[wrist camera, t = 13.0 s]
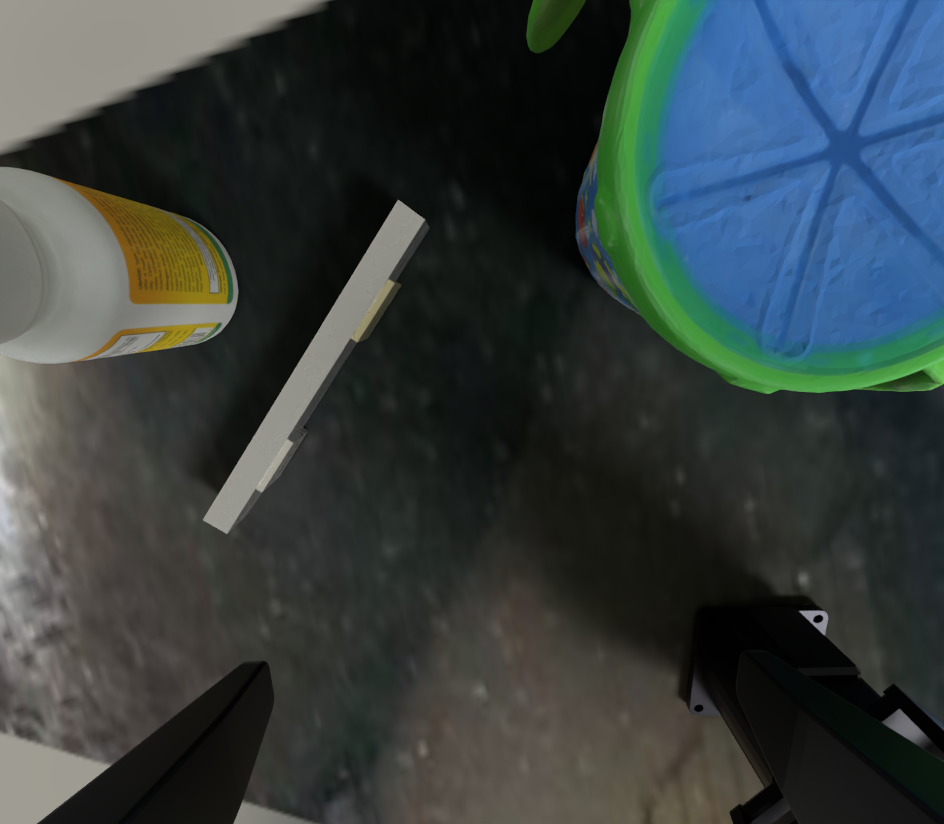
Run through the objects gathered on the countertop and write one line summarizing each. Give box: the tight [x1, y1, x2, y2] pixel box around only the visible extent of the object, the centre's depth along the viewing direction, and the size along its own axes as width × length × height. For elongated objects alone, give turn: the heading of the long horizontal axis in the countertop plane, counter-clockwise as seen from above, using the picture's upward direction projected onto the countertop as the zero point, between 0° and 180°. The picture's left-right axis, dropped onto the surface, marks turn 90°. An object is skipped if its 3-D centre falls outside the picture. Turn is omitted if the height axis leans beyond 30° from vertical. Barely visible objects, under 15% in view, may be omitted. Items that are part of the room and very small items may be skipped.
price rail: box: [203, 200, 430, 534], centre depth 19 cm, size 16×2×2 cm, turn 145°
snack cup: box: [526, 0, 944, 394], centre depth 14 cm, size 16×10×10 cm
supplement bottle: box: [0, 167, 238, 364], centre depth 15 cm, size 5×5×10 cm
